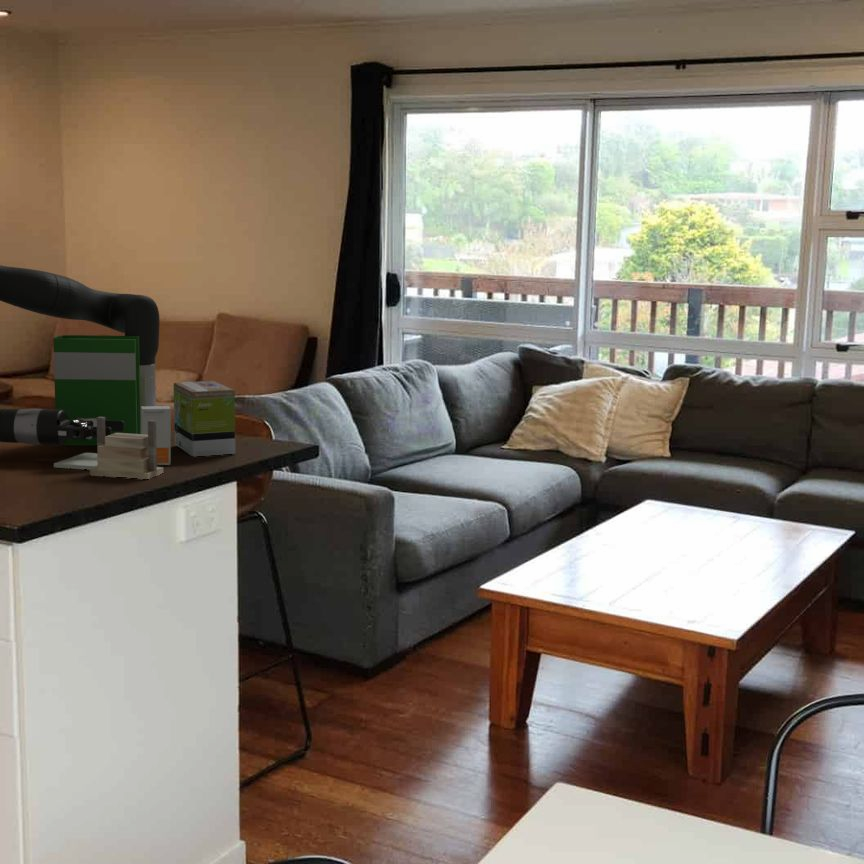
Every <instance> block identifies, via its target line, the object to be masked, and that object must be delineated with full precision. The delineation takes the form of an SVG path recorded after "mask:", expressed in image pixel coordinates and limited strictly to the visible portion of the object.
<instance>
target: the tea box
mask: <svg viewBox="0 0 864 864" xmlns="http://www.w3.org/2000/svg"><path fill="white" fill-rule="evenodd" d="M235 393H236V391H235V389H233V388H231V387H229V386H226V385H224V384H222V383H220V382H218V381H215V380H204V381H203V380H202V381H199V380H198V381H186V382H185V381H184V382H174V383H173V413H174V414H173V415H174V418H173V419H174V420H173V423H174V425H173V427H174V445H175V446H177V447H178V448H179V449H181V450H182V451H184V452H185V453H187V454H188V455H189V456H191V457H192V456H193V457H192V458H198V457H197V456H206V457H211V456H210V455H221V456H224V455H223V454H232V455H235V454H236V397H235V396H236V395H235ZM195 456H196V457H195Z"/></svg>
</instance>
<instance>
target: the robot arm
mask: <svg viewBox="0 0 864 864" xmlns="http://www.w3.org/2000/svg"><path fill="white" fill-rule="evenodd" d="M0 302H3V303H5V304H9V305H11V306H14V307H17V308H20V309H23V310H26V311H29V312H32V313H36V314H40V315H44V316H49V317H53V318H57V319H58V318H59V319H65V320H71V321H72V320H73V321H86V322H91V323H94V324H97V325H100V326H103V327H106V328H108V329H111V330H113V331H116V332H118V333H122V334H124V336H139V359H140V415H141V406H157V395H156V394H157V393H156V392H157V391H156V390H157V389H156V387H157V386H156V357H157V354H158V351H159V347H160V346H159V345H160V321H161V320H160V311H159V308H158V305H157V303H156V302H155V300H154V299H153V298H151V297H150V296H147V295H142V294H131V293H116V292H109V291H103V290H102V291H101V290H98V289H97V290H96V289H94V288H90V287H88V286H87V285H85V284H83V283H81V282H79V281H77V280H75V279H72V278H69V277H67V276H64V275H61V274H56V273H53V272H48V271H44V270H38V269H31V268H23V267H14V266H6V265H2V264H0ZM124 429H125V424H124V421H113V420H107V418H105V436H108V435H111V434H112V431H120V432H122V431H124ZM92 436H93V438H97V418H90V417H76V418H74V419H71V420H69V419H68V417H67V413H66V412H65V411H64V410H59V409H55V408H53V409H52V408H25V409H22V408H21V409H20V408H17V409H13V408H1V409H0V443H10V444H11V443H12V444H13V443H15V444H19V443H20V444H26V445H33V446H34V445H37V446H39V445H40V446H64V445H63V444H64V443H65V442H66V440H67V439H71V440H86V439H91V438H92Z"/></svg>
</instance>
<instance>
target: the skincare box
mask: <svg viewBox="0 0 864 864" xmlns="http://www.w3.org/2000/svg"><path fill="white" fill-rule="evenodd" d="M171 410H172V409H171V407H170V406H169V405H156V406H141V434H143V435H148V421H149V420H156V453H157V466H171V461H172V460H171V459H172V458H171V457H172V456H171V455H172V454H171V453H172V452H171V449H172V448H171V441H172V440H171V439H172V438H171V437H172V436H171V435H172V434H171V433H172V431H171V427H172V425H171V424H172V420H171V419H172V413H171V412H172V411H171Z"/></svg>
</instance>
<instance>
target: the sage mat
mask: <svg viewBox="0 0 864 864" xmlns="http://www.w3.org/2000/svg"><path fill="white" fill-rule="evenodd" d="M96 467H98V460H97V452H96V453H95V452H83V453H80V454H77V455H74V456H72V457H69V458H66V459H63V460H59V461H57V462H54V463H53V468H60V469H70V468H71V469H74V470H84V469H87V471H90V469H93V468H96Z"/></svg>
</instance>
